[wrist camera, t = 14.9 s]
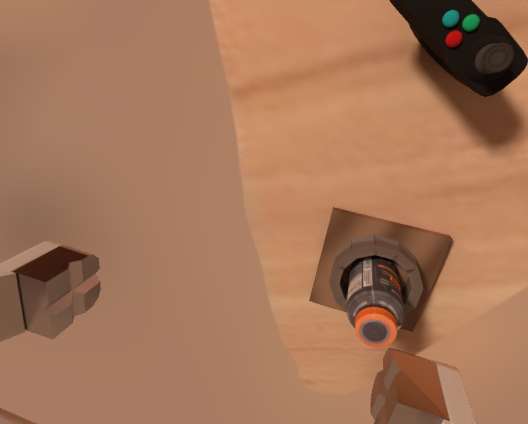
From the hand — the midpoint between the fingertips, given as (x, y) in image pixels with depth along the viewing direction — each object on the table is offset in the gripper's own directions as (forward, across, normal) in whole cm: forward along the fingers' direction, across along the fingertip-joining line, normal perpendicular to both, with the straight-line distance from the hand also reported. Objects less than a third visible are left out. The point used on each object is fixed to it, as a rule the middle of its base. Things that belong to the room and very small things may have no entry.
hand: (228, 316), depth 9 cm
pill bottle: (+33, -9, +16) cm, 38 cm away
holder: (+34, -9, +16) cm, 39 cm away
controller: (+34, -8, -11) cm, 37 cm away
